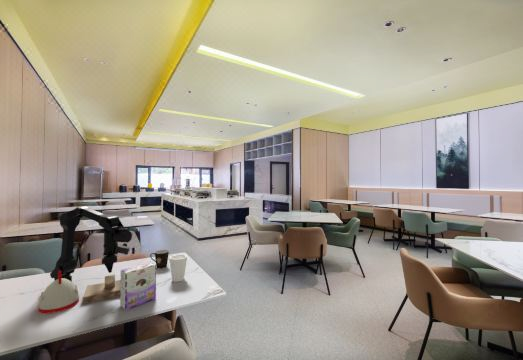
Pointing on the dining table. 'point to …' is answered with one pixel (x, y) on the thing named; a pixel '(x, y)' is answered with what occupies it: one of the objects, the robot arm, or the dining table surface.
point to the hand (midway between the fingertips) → (110, 272)
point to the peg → (109, 281)
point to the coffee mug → (161, 258)
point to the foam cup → (178, 267)
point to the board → (101, 292)
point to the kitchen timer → (58, 296)
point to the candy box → (137, 285)
